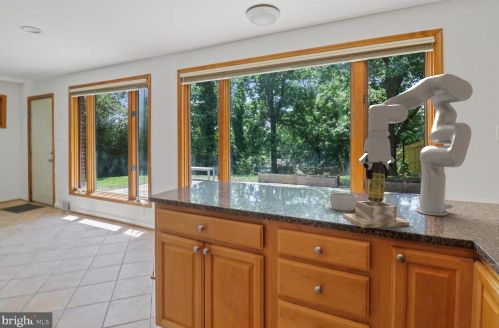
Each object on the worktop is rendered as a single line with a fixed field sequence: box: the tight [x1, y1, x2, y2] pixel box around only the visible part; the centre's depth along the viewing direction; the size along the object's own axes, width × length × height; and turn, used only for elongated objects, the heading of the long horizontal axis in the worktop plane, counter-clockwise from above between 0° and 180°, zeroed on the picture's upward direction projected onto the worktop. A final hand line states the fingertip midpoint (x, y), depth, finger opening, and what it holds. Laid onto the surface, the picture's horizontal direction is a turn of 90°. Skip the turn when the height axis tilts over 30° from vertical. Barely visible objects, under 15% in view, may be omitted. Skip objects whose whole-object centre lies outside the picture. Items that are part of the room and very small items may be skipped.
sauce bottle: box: [367, 161, 386, 202], centre depth 118 cm, size 6×6×20 cm
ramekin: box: [329, 192, 358, 212], centre depth 143 cm, size 13×13×7 cm
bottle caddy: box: [343, 200, 411, 229], centre depth 120 cm, size 20×16×8 cm
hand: (376, 178), depth 119 cm, fingers closed on sauce bottle, 6 cm apart
